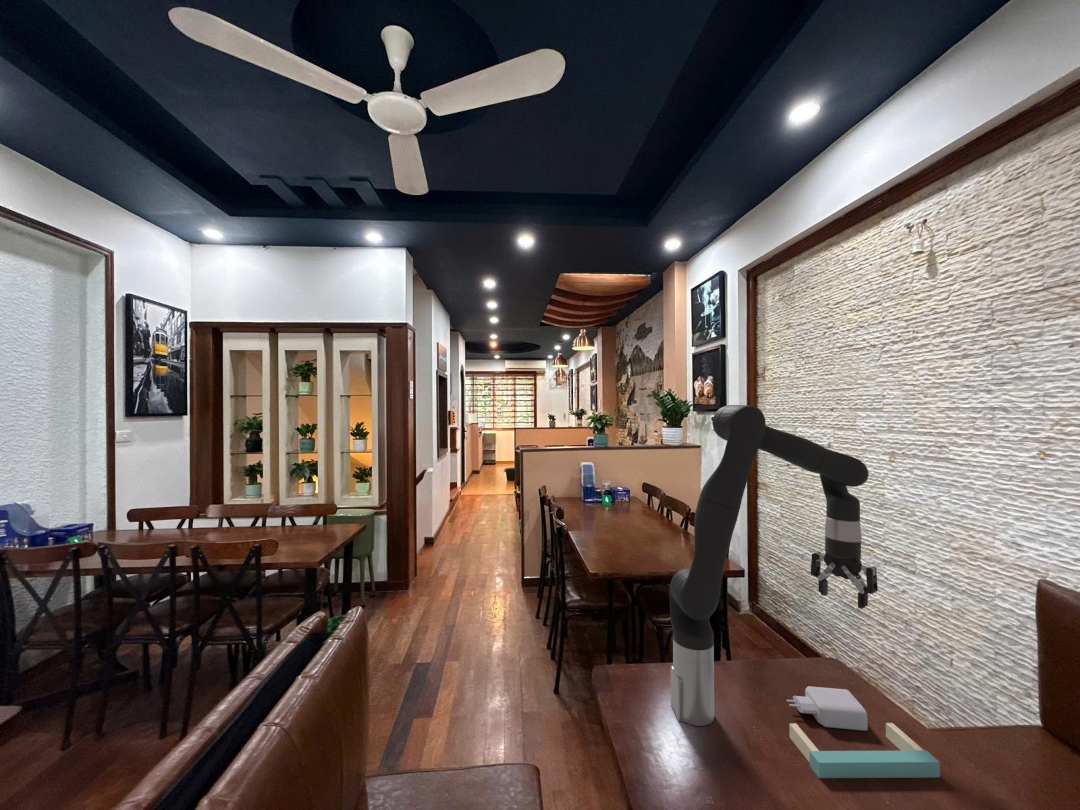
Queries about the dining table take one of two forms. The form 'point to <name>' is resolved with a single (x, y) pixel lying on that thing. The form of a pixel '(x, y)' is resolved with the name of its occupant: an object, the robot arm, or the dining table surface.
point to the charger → (832, 708)
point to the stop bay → (869, 758)
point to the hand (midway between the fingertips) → (842, 601)
